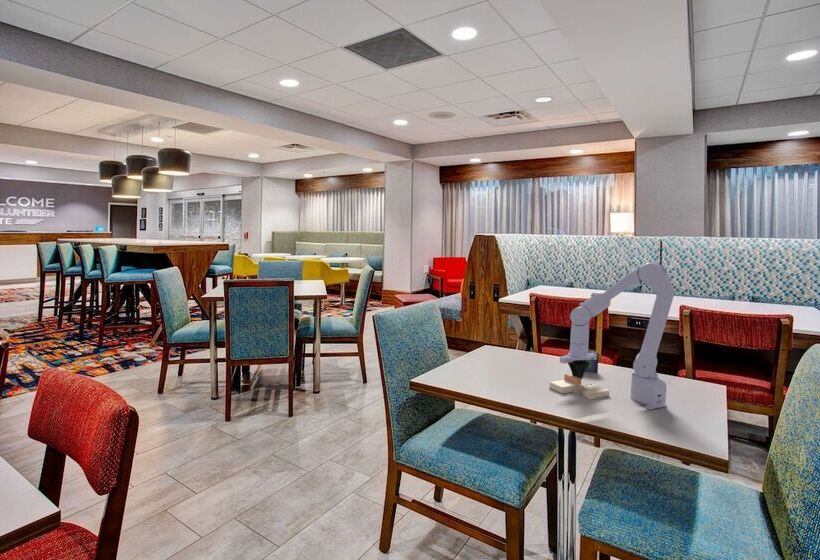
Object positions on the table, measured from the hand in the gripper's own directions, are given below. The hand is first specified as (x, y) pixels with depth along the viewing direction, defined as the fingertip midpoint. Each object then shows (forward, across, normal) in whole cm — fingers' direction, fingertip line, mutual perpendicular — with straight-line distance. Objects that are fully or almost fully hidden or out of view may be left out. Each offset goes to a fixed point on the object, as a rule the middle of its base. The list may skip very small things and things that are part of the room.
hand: (577, 382), depth 154 cm
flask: (+3, -17, -14) cm, 22 cm away
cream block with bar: (+2, +5, 0) cm, 6 cm away
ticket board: (+3, +5, +4) cm, 7 cm away
